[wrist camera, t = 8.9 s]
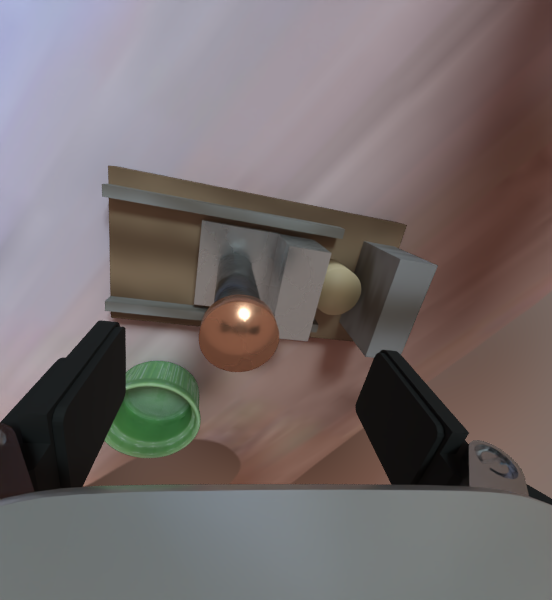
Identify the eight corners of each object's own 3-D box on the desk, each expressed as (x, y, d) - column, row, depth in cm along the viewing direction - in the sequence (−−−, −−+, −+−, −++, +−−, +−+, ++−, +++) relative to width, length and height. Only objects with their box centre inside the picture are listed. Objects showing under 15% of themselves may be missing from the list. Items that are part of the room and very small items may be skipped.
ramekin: (122, 345, 28) (105, 373, 24) (214, 366, 30) (212, 395, 26) (105, 415, 30) (86, 451, 26) (190, 429, 33) (185, 464, 29)
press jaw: (202, 219, 22) (179, 258, 12) (312, 238, 24) (376, 287, 14) (194, 301, 25) (169, 394, 14) (294, 313, 27) (337, 402, 16)
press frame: (115, 166, 22) (64, 162, 15) (397, 222, 27) (455, 238, 20) (117, 309, 26) (77, 357, 19) (359, 335, 31) (395, 380, 24)
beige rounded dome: (310, 255, 25) (320, 265, 22) (352, 262, 26) (367, 273, 23) (299, 297, 27) (308, 312, 24) (339, 302, 27) (353, 317, 25)
